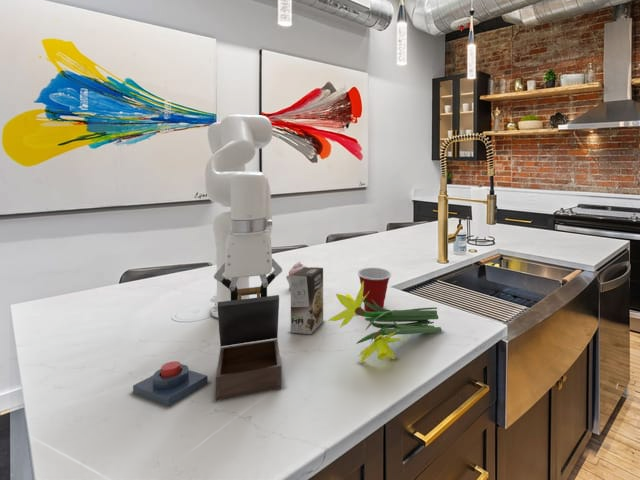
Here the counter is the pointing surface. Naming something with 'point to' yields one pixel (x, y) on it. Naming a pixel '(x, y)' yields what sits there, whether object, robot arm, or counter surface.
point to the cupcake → (293, 270)
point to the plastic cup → (374, 286)
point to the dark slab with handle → (248, 318)
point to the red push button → (170, 369)
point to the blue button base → (170, 386)
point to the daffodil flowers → (385, 315)
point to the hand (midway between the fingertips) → (249, 304)
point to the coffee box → (306, 300)
